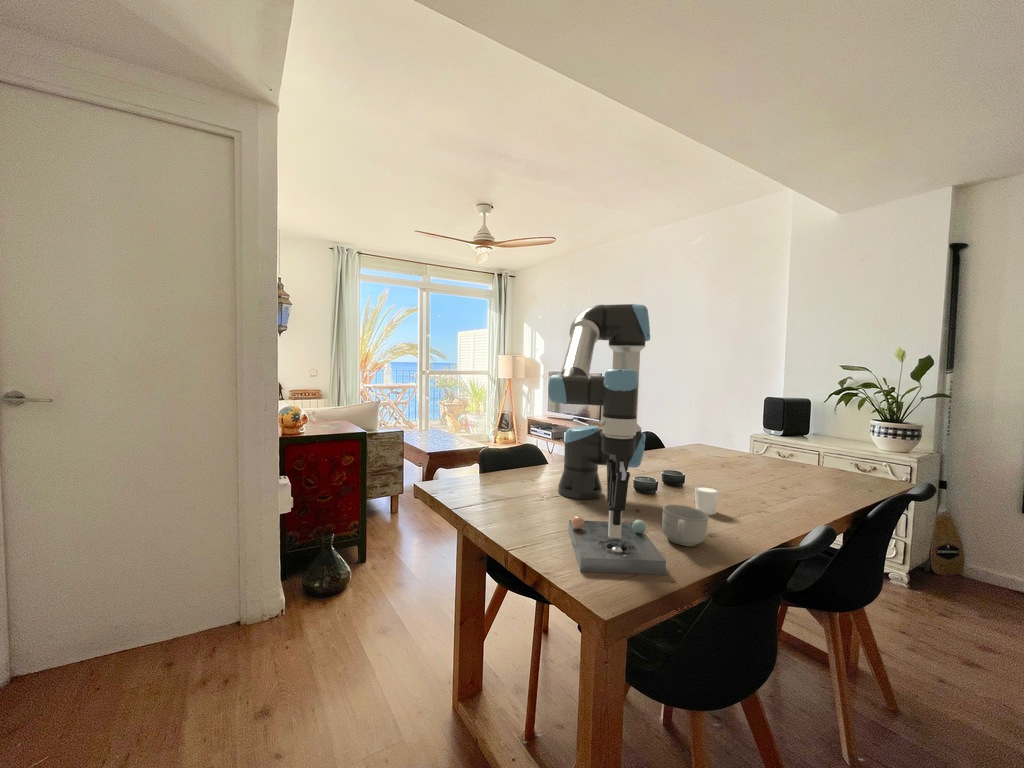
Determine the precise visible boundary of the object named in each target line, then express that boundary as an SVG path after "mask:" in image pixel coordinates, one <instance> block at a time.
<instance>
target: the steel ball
mask: <svg viewBox="0 0 1024 768" xmlns="http://www.w3.org/2000/svg"><path fill="white" fill-rule="evenodd" d="M610 550H613V551H618V552H623V550H622V549H621V548H620V547H618V546H614V547H612V548H611V549H610Z"/></svg>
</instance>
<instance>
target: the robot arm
mask: <svg viewBox="0 0 1024 768" xmlns="http://www.w3.org/2000/svg"><path fill="white" fill-rule="evenodd" d="M650 327H651V326H650V319H649V309H648V307H647V306H646V305H644V304H638V303H637V304H635V303H631V304H630V303H629V304H628V303H626V304H625V303H623V304H622V303H621V304H597V305H594V306H590V307H589V308H586V309H585V310H583V311H582V312H580V313H579V314H578V315H577V316H576V318H575V319H574V320H573V321H572V323H571V325H570V328H569V337H570V340H569V343H568V347H567V351H566V354H565V356H564V361H563V365H562V368H561V371H560V373H558V374H552V375H551V376H550V377H549V380H548V388H547V390H548V391H547V392H548V399H549V401H550V402H551V403H555V404H563V405H581V406H600V407H603V408H602V409H603V410H602V412H603V413H602V419H603V420H601V421H599V422H600V423H599V424H600V425H601V426H602V430H601V428H600V426H598V425H581V426H580V425H579V426H573V427H570V428H568V429H567V430H566V431H565V435H564V436H565V437H564V441H563V442H564V454H563V455H564V457H563V459H564V460H563V471H562V474H561V477H560V479H559V482H558V484H557V492H558V494H559V495H561V496H563V497H567V498H571V499H575V500H576V499H577V500H594V499H598V498H601V497H603V487H602V483H601V479H600V476H599V472H598V470H599V466H606V484H607V486H606V490H607V491H606V494H607V495H606V501H607V502H608V506H607V510H608V522H609V524H608V536H609V538H621V530H622V522H623V512H625V511H626V507H627V505H626V504H627V499H628V498H627V496H628V488H629V486H628V485H629V481H630V476H631V473H630V472H629V471H628V470H629V468H632V469H634V468H635V469H636V468H639V467H640V466H641V464H642V461H643V457H644V454H645V452H644V451H645V446H646V445H645V443H646V437H647V435H646V434H645V433H643V432H642V427H641V426H640V425H639V424H638V409H639V408H638V405H639V404H638V403H639V387H640V384H639V383H640V362H641V361H640V360H641V359H640V358H641V351H642V350H643V349H645V347H646V342H649V341H650V340H651V329H650ZM598 341H608V347H609V348H610V349H611V350H612V368H608V369H606V370H605V372H604V376H603V375H602V376H601V375H599V376H597V375H590V370H591V367H592V366H591V365H592V359H593V354H594V351H595V350H594V349H595V345H596V343H597V342H598Z"/></svg>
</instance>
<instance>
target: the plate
mask: <svg viewBox="0 0 1024 768" xmlns="http://www.w3.org/2000/svg"><path fill="white" fill-rule="evenodd" d="M571 521H572V519H568V534H569V538H570V542H571V543H572V544H571V545H572V548H573V552H574V555H575V558H576V561H577V564H578V565H577V566H578V569H579V572H582V573H608V574H609V573H610V574H611V573H612V574H635V575H637V574H638V575H660V576H661V575H662V576H666V571H667V570H666V568H667V560H666V559H665V558H664V556H663V554H661V552H660V551H659V550H658V548H657V547H656V546H655V545H654V543H653V541H651V539H650V537H649V536H648V535H647V534H646V532H645V531H644V532H643V533H636V532H635V531H634V530H633V527H632V525H633V522H634V521H633V522H632V521H631V522H629V521H622V530H621V538H609V536H608V524H609V521H606V520H605V521H603V520H602V521H601V520H600V521H599V520H584V526H583V528H581V529H575V528H574V527H573V526H572V523H571ZM614 546H618V547H620V548H621V549H622V550H623V552H618V551H613V550H610V549H611V548H612V547H614Z"/></svg>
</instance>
